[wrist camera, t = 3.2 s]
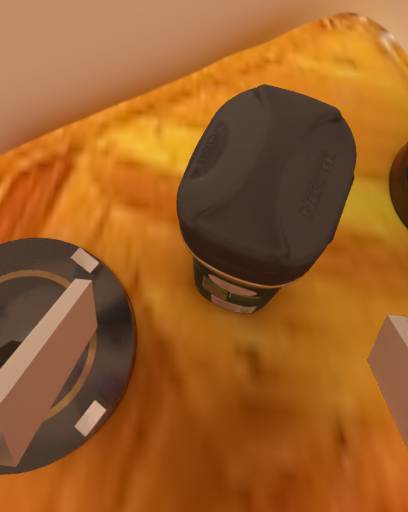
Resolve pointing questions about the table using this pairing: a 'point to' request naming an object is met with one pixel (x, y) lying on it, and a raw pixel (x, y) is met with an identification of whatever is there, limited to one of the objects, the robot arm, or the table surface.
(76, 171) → the table surface
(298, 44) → the table surface
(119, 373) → the lug base plate
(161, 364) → the table surface
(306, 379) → the table surface
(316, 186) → the coffee jar
